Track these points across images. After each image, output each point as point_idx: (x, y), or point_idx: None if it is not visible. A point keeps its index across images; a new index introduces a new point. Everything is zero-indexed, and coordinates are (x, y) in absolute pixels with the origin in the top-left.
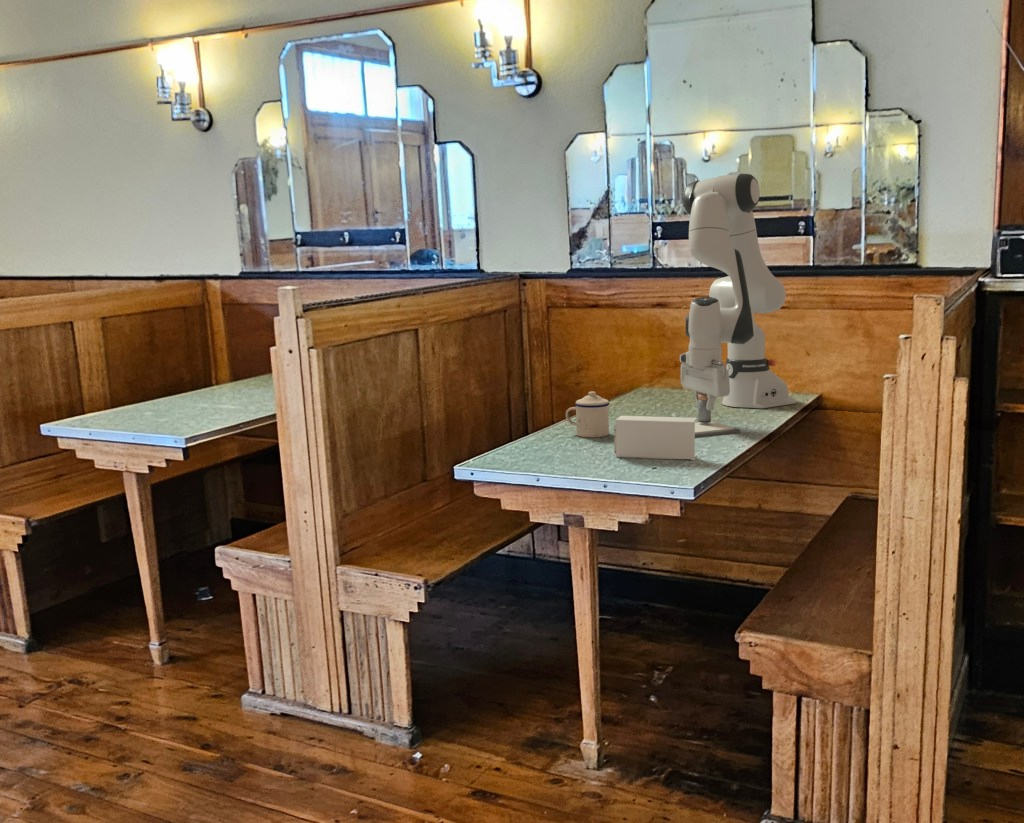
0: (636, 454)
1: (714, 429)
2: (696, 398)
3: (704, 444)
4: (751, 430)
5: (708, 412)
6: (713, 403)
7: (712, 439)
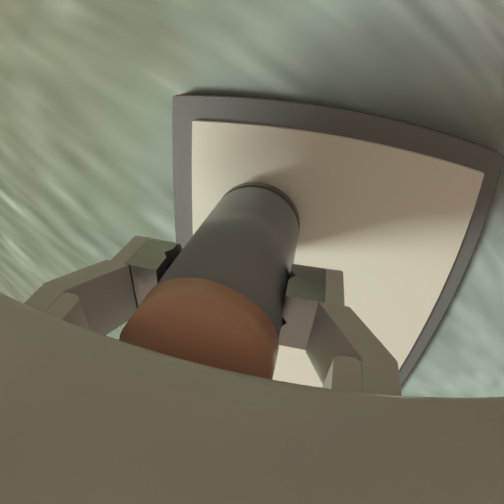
0: None
1: (428, 280)
2: (117, 327)
3: (490, 387)
4: (491, 51)
5: (293, 263)
6: (349, 313)
7: (480, 339)
